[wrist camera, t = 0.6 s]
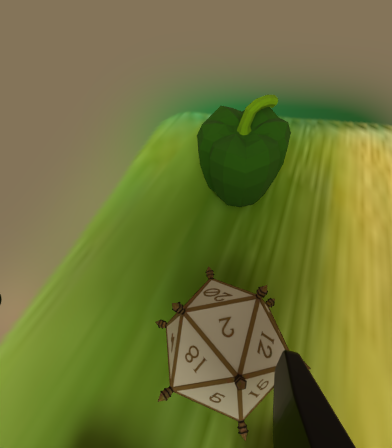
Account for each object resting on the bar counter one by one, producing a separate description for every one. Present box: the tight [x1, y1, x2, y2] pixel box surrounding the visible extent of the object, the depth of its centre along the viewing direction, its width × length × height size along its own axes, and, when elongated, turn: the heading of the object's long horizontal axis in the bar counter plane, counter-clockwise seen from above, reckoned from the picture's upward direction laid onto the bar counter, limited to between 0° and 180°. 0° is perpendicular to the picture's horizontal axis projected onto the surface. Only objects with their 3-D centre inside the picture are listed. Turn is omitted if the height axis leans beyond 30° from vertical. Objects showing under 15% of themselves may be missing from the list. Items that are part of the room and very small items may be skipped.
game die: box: [156, 267, 311, 441], centre depth 18 cm, size 9×8×10 cm
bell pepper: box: [197, 95, 291, 207], centre depth 27 cm, size 8×8×10 cm
